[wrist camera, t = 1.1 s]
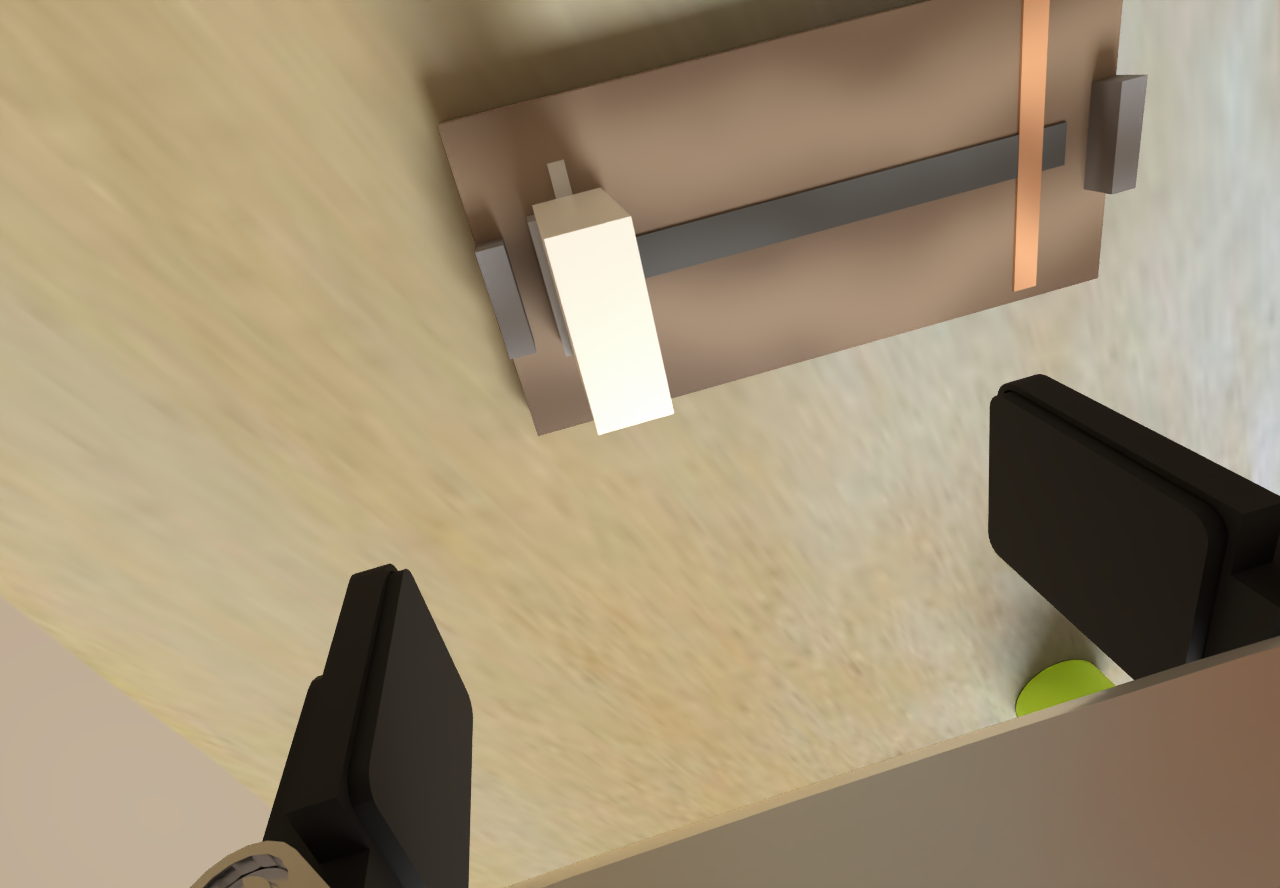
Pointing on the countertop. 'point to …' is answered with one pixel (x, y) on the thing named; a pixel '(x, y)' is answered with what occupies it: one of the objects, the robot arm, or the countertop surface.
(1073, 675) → the soap dispenser
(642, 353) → the block
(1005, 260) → the slider board
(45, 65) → the countertop surface
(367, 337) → the countertop surface
